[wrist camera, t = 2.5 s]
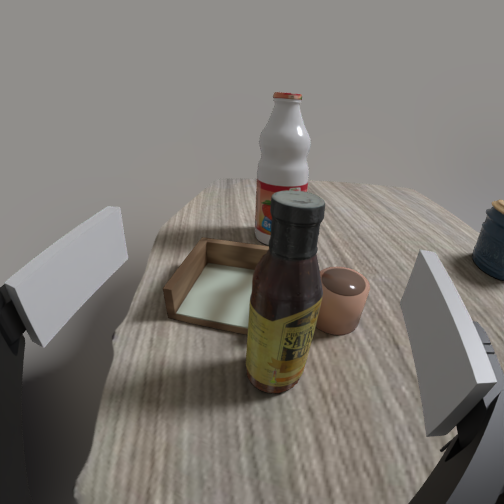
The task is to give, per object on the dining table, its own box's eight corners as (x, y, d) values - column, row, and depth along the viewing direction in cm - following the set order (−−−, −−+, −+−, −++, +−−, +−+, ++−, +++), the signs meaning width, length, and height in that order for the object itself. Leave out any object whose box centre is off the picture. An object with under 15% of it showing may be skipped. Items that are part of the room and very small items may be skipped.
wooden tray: (292, 277, 47) (296, 250, 44) (280, 340, 35) (284, 310, 33) (203, 263, 49) (202, 237, 47) (168, 317, 38) (162, 288, 35)
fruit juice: (289, 224, 64) (300, 94, 50) (309, 245, 56) (325, 96, 42) (248, 229, 62) (253, 91, 47) (263, 251, 54) (272, 91, 40)
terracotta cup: (347, 299, 42) (356, 264, 39) (366, 331, 36) (379, 295, 33) (303, 303, 41) (310, 267, 38) (318, 338, 35) (327, 300, 32)
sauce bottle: (282, 405, 27) (316, 225, 17) (233, 377, 30) (233, 200, 20) (312, 366, 31) (351, 198, 21) (267, 343, 35) (282, 180, 25)
